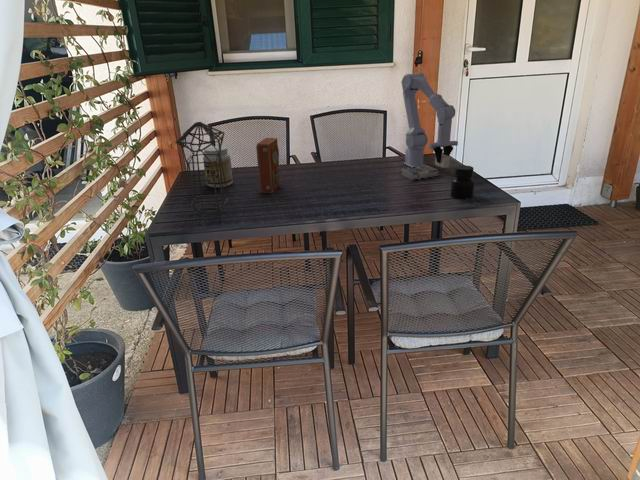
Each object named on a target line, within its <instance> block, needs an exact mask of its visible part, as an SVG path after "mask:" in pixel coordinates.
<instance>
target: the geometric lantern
mask: <svg viewBox="0 0 640 480" xmlns="http://www.w3.org/2000/svg"><path fill="white" fill-rule="evenodd" d="M193 130H195V131H194V132H193ZM213 130H214V131H213ZM197 131H198V133H197ZM215 131H216V132H215ZM204 132H205V133H204ZM207 135H208V136H209V141H208V140H207V141H206V140H204V136H207ZM189 136H191V137H192V138H191V140H190V141H189V142H188V141H187V138H188V137H189ZM197 136H198V137H197ZM201 137H202V139H201ZM224 137H225V132H224V131H222V130H220V129H217V128H214V127H212V126H210V125H208V124H205V123H204V122H202V121H197V122H194V123H193V124H192V125H191V126H190V127H188V129H187V130H186V131H184V132H183V133H182V135H181V136H180V137H179V138H178V139H177V140H176V141H175V142H174V144H178V145H179V146H180V147H181V149H182V153H183V157H184V162H185V163H186V177H187V191H188V203H189V204H188V206H189V208H190V209H192V210H194V211H195V212H197V213H198V215H197V216H198V217H200V218H203V217H204V218H205V217H206V218H207V217H219V216H221V215H222V211H223V208H224V207H225V206H226V204H227V202H228V201H229V191H228V186H227V185H226V180H225V175H224V170H223V164H222V159H221V146H223V141H224ZM194 139H196V140H198V143H193V142H194ZM216 143H218V146H219V149H220V151H219V150H218V151H217V149H216V148H215V146H216V145H214V144H216ZM188 145H189V146H190V147H189V146H188ZM202 145H206V146H205V147H202V148H201V146H202ZM192 146H198V148H197V149H196V150H194V149H193V147H192ZM211 146H214V148H215V149H216V151H217V152H218V154H205V153H204V149H206V148H208V147H211ZM184 148H186V149H188V150H189V151H190V152H191V153H192V155H191V154H190V156H189V157H188V158H187V157H186V154H185V149H184ZM199 152H201V154H198V153H199ZM206 155H217V157H218V158H216V161H213V162H211V161H210V160H209V158H208V157H207V156H206ZM199 156H205V157H206V158H207V159H208V160H209V162H202V161H200V162H199ZM195 157H196V162H195V159H194V158H195ZM217 160H218V161H219V168H220V176H221V183H220V178H219V172H218V167H217ZM220 161H221V165H220ZM204 163H211V169H212V176H213V182H214V187H213V189H214V195H213V194H212V195H203V193H202V184H201V183H202V182H201V174H200V173H201V172H200V164H204ZM212 163H215V164H216V170H217V175H218V180H219V186H220V188H219V190H220V194H217V193H218V192H217V188H216V185H215V179H214V172H213V166H212ZM195 164H197V173H198V174H197V175H198V181H199V182H198V183H199V191H200V192H199V193H200V195H198V196H197V187H196V174H195V171H196V170H195ZM190 165H192V172H193V173H192V172H191V166H190ZM221 167H222V172H223V177H224V182H225V187H223V181H222V173H221ZM192 174H193V175H192ZM192 177H193V182H192ZM221 184H222V187H221ZM193 188H194V189H193ZM224 188H225V191H224ZM225 193H226V195H225ZM213 197H214V198H215V200H216V202H213V203H204V202H203V199H202V198H213ZM219 197H220V201H219V200H218V198H219ZM224 197H225V199H224ZM191 198H192V200H191ZM199 198H200V201H199V200H198V199H199ZM191 201H192V202H191ZM195 201H196V202H197V203H198V205H199V206H197V207H196V204H195ZM200 202H201V203H200ZM208 205H209V206H208ZM210 205H217V206H210ZM216 209H217V210H216ZM215 212H216V213H217V214H210V215H209V214H208V215H202V213H215Z"/></svg>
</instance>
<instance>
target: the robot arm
mask: <svg viewBox="0 0 640 480" xmlns="http://www.w3.org/2000/svg"><path fill="white" fill-rule="evenodd" d="M427 80H428V79H427V77H426V76H425V74H424V73H422V72H417V73H406V74H405V75H403V77H402V79H401V81H400V83H401V86H402V88H401V89H402V97H403V102H404V108H405V112H406V118H407V124H408V129H409V130H408V131H407V132H406V134H405V144H406V147H407V148H406V150H405V155H404V162H403V163H404V164H403V165H405V164H406V165H405V166H408V167H409V168H411V169H413V168H414V167H415V168H416V167H417V166H418V167H420V166H426V164H425V163H424V152H425V151H424V150H425V148H426V145H427V144H428V149H431V150H433V152H434V155H435V158H436V160H437V162H438V163H440V162H441V156H442V154H444V155H447V156H449V157H450V156H451V153H452V152H453V150H454V146H455V147H456V146H459V145H458V144H459V141H458V140H451V136H452V135H451V132H452V123H453V118H454V117H455V116H456V109H455V107H454V105H450V104H448V102H446V101H445V99H444V98H443V96H442V94H439V93H435V91H434V90H433V88H432V87H431V85H430V84H429V82H428V81H427ZM419 90H420V91H421V92H422V93H423V94H424V95H425V96H426V97H427V98H428V99H429V101H428V103H429V105H430V106H431V107H432V108H433V110H434V111H435V112H436V113H435V114H436V117H437V122H438V127H437V139H436V141H435V142H431V143H429V142H428V141H429V139H428V136H427V134H426V131H425V129H424V128H422V126H421V122H420V117H419V112H418V106H417V101H416V94H417V92H418V91H419Z"/></svg>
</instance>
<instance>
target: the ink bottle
mask: <svg viewBox="0 0 640 480" xmlns="http://www.w3.org/2000/svg"><path fill="white" fill-rule="evenodd" d="M454 171H455V172H454V177H453V178H452V180H451V185H450V196H451V198H453V199H457V198H460V199H459V200H467V199H466V198H470V199H472V198H473V197H474V194H475V193H474V192H475V183H476V182H475V179H473V175H474V167H473V166H471V165H462V164H461V165H457V166H455V170H454ZM471 197H472V198H471Z"/></svg>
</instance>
